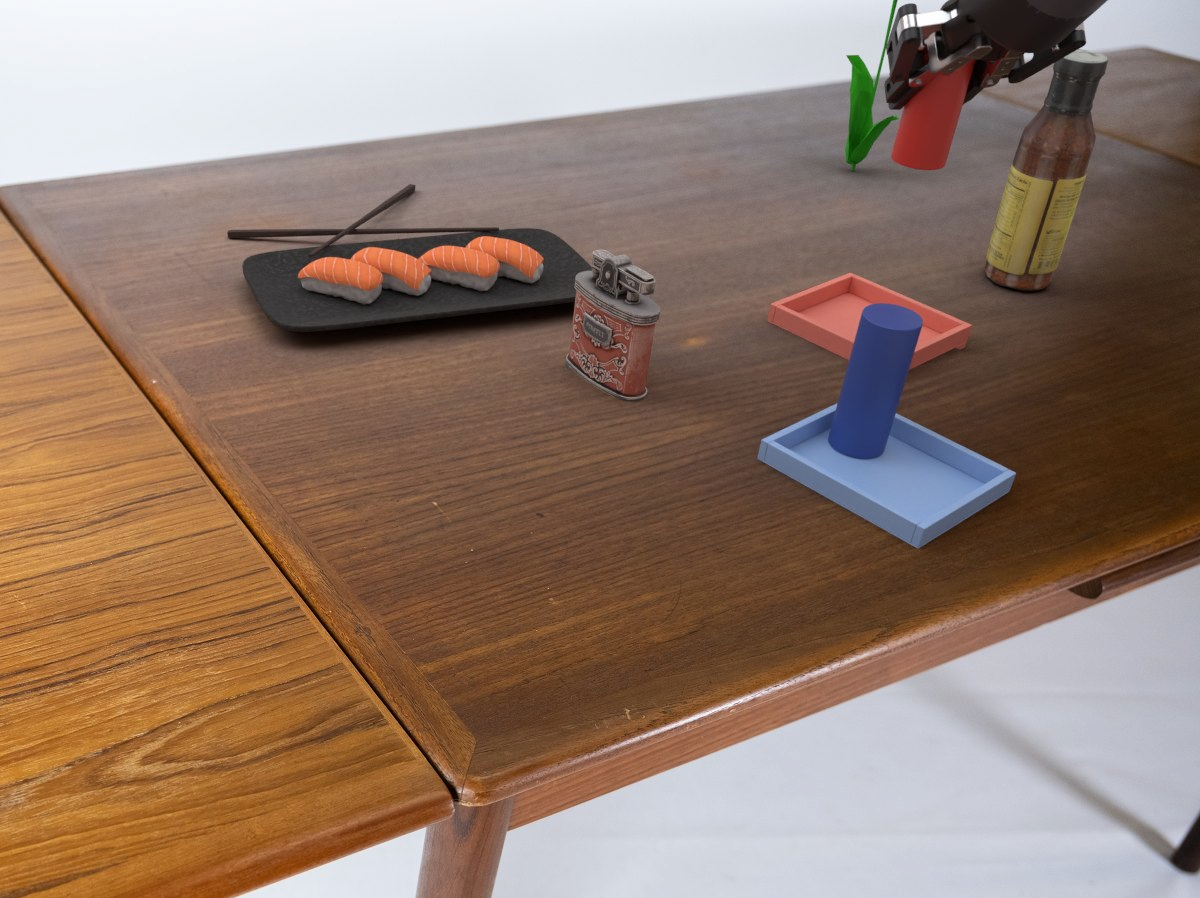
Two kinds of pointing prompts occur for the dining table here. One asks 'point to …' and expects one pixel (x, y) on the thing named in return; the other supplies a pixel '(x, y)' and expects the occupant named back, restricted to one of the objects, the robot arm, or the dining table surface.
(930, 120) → the red peg
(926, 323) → the red tray
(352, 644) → the dining table surface
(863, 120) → the flower
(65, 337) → the dining table surface
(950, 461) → the blue tray
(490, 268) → the sushi plate
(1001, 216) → the sauce bottle
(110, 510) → the dining table surface
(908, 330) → the blue peg
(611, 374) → the lighter
